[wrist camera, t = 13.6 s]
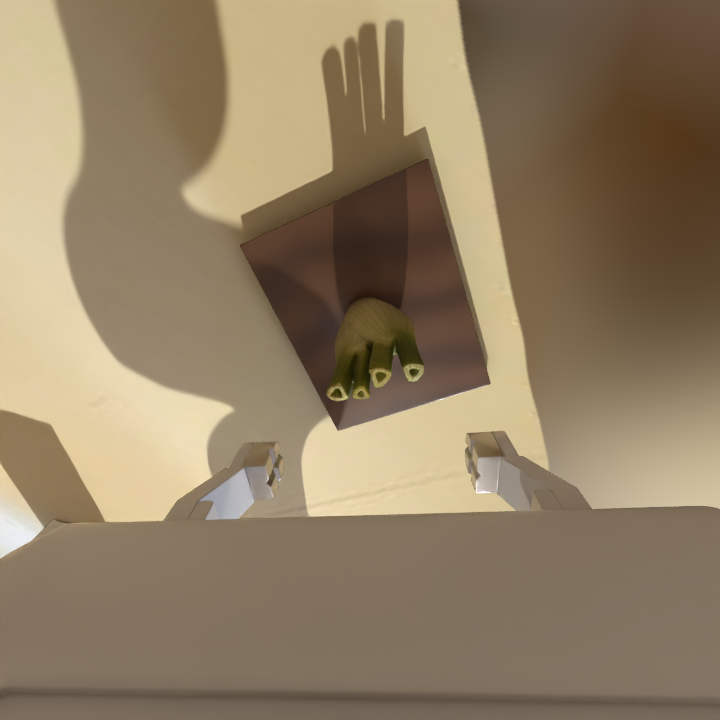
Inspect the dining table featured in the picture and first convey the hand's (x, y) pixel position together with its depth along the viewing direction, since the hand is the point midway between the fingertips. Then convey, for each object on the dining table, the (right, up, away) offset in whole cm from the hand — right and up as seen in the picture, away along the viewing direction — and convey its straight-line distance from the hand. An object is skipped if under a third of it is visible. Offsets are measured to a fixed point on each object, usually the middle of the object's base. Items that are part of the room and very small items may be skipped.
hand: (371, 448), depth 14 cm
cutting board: (+1, +8, +16) cm, 18 cm away
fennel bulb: (+1, +7, +15) cm, 17 cm away
